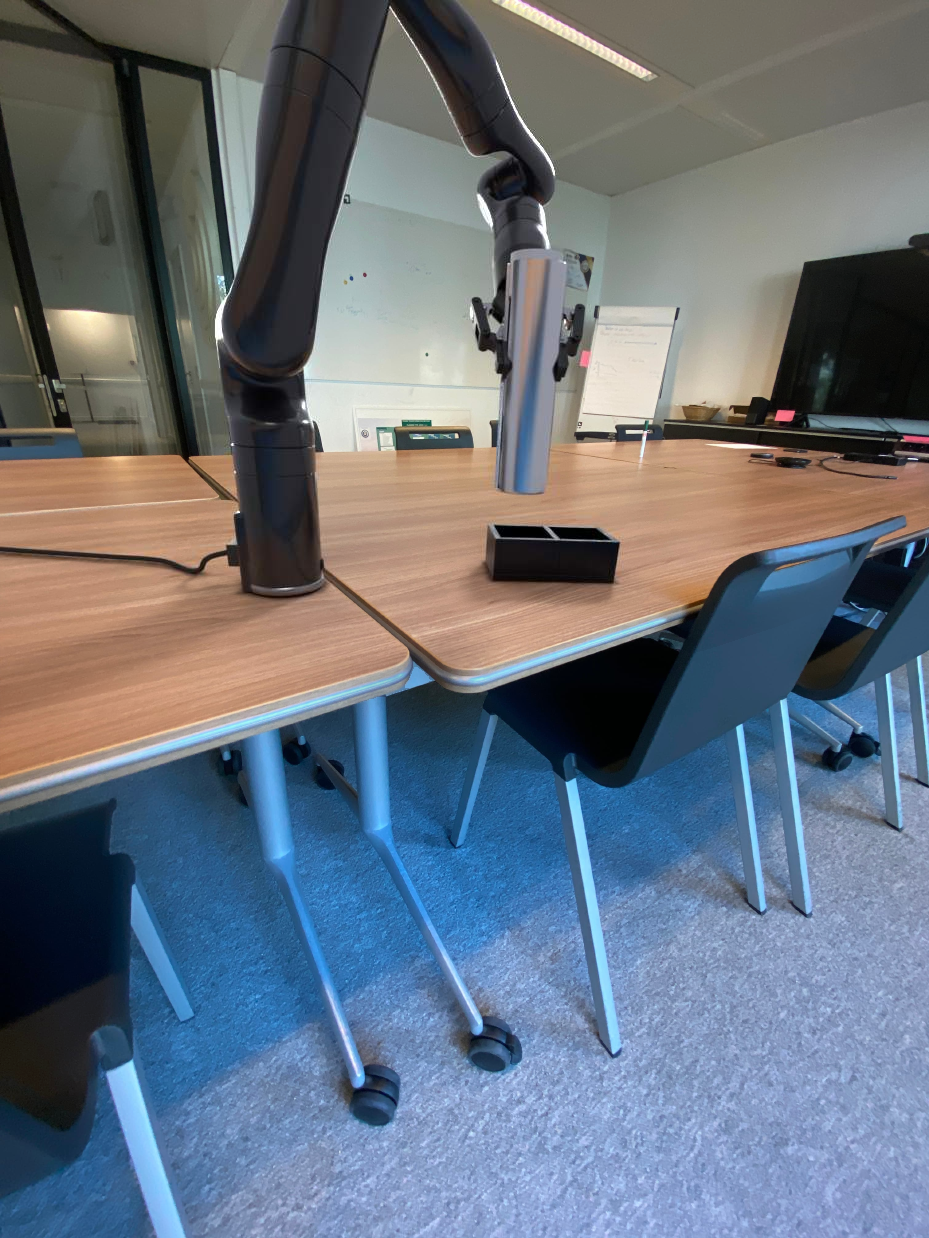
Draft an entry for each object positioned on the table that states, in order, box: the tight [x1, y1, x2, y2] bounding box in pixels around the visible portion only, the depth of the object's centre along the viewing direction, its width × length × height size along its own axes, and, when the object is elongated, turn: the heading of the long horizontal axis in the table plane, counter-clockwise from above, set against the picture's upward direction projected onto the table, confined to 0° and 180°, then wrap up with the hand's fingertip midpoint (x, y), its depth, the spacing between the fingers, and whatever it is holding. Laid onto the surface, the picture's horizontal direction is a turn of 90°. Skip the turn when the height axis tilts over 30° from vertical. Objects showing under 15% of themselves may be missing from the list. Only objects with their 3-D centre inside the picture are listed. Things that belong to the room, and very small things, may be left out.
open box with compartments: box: [484, 523, 621, 584], centre depth 78 cm, size 17×9×6 cm, turn 95°
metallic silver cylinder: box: [494, 249, 569, 496], centre depth 62 cm, size 6×6×25 cm
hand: (532, 374), depth 60 cm, fingers closed on metallic silver cylinder, 5 cm apart
